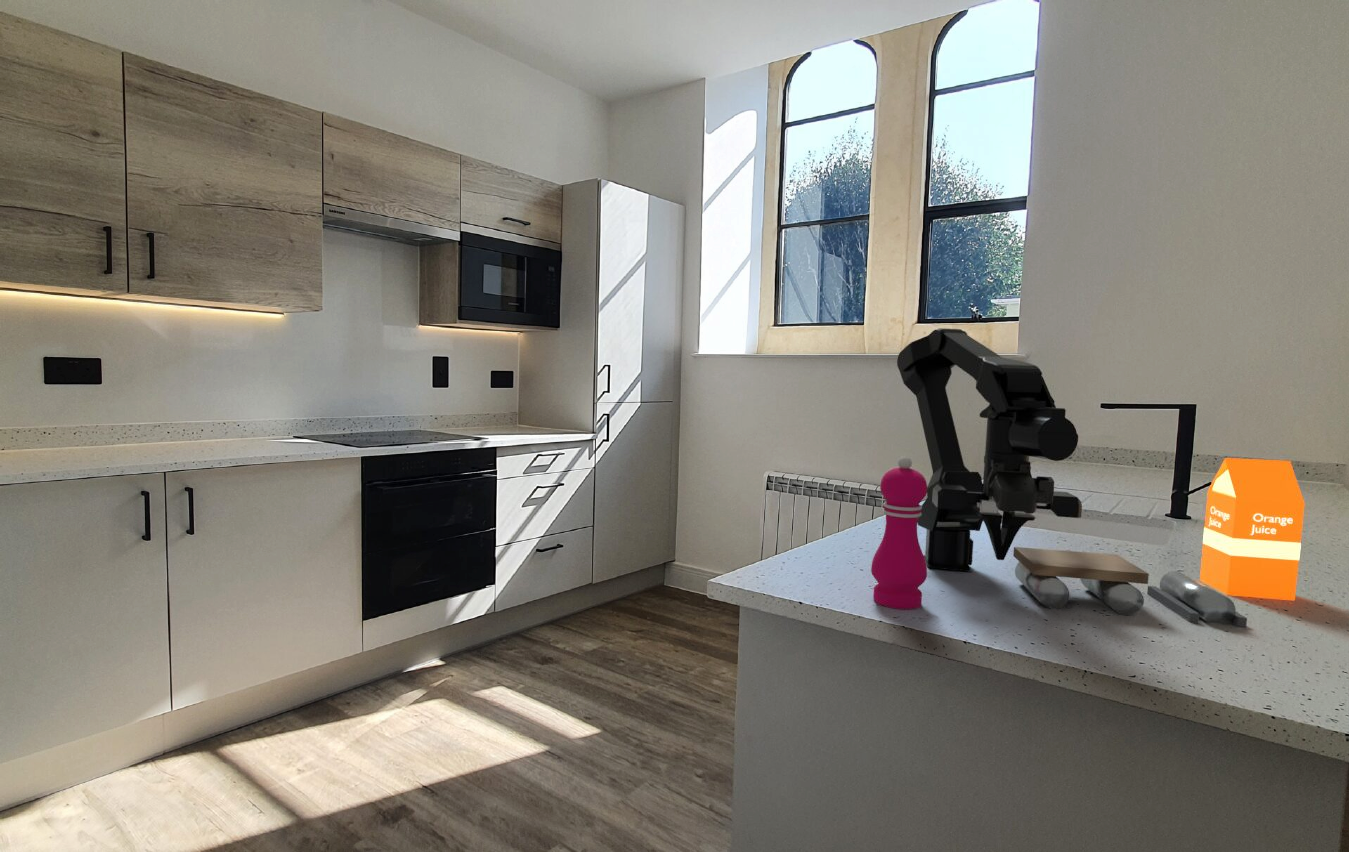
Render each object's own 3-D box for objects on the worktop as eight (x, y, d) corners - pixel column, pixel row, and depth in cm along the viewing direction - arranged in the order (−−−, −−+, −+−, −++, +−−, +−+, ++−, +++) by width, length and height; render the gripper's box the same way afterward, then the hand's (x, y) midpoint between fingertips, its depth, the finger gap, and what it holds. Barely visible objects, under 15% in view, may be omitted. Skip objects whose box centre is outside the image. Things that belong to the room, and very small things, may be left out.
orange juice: (1295, 600, 101) (1309, 464, 99) (1226, 595, 102) (1239, 461, 101) (1262, 585, 108) (1274, 458, 107) (1198, 579, 110) (1209, 454, 109)
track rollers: (1036, 606, 94) (1038, 578, 94) (1014, 583, 105) (1015, 557, 105) (1142, 616, 92) (1145, 586, 91) (1108, 591, 102) (1110, 564, 102)
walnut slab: (1033, 574, 95) (1034, 564, 94) (1013, 556, 104) (1014, 546, 104) (1147, 583, 92) (1148, 573, 92) (1116, 564, 102) (1117, 554, 101)
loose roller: (1157, 595, 101) (1162, 568, 101) (1187, 600, 100) (1193, 574, 100) (1197, 621, 90) (1204, 592, 90) (1231, 627, 90) (1238, 598, 89)
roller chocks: (1189, 621, 90) (1190, 612, 90) (1147, 593, 102) (1147, 585, 102) (1246, 627, 89) (1247, 617, 89) (1196, 597, 101) (1197, 589, 100)
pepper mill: (882, 590, 100) (889, 452, 98) (932, 601, 95) (941, 457, 94) (860, 601, 94) (868, 455, 93) (913, 614, 90) (922, 461, 88)
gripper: (947, 454, 93) (940, 568, 94) (1101, 462, 89) (1092, 581, 90) (934, 446, 104) (928, 548, 105) (1071, 453, 100) (1063, 559, 101)
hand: (999, 559), depth 100 cm, fingers closed
